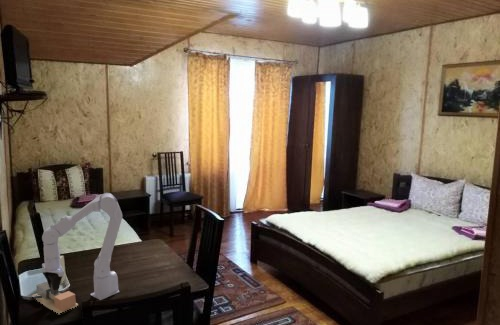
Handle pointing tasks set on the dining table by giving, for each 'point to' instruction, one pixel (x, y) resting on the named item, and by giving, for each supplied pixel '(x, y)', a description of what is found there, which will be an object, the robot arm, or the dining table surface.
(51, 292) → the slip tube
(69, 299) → the socket block
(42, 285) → the grey sleeve
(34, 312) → the dining table surface
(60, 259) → the skincare box
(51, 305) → the birch board
